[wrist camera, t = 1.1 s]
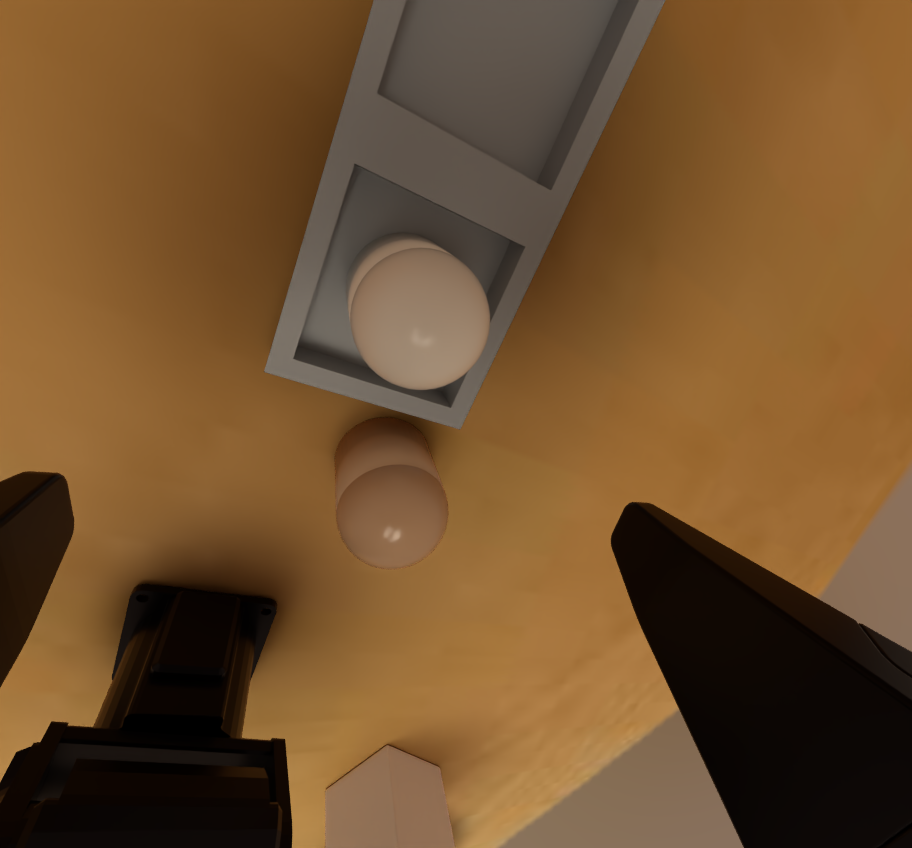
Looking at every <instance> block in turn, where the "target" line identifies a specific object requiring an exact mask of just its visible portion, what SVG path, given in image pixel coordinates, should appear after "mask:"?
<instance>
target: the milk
mask: <svg viewBox="0 0 912 848" xmlns="http://www.w3.org/2000/svg"><path fill="white" fill-rule="evenodd" d="M325 848H455V844H454V839H453V833H452V828H451V823H450V818H449V812H448V807H447V802H446V797H445V791H444V786H443V781H442V776H441V771H440V768H439V767H438V766H435V765H433V764H431V763H429V762H426V761H424V760H422V759H419V758H417V757H415V756H412V755H410V754H408V753H405V752H403V751H401V750H398V749H396V748H394V747H391V746H389V745H386V746H385V747H383V748H382V749H381V750H379V751H378V752H377V753H375V754H374V755H372V756H371V757H370V758H368V759H367V760H366V761H364V762H363V763H362V764H360V765H359V766H357V767H356V768H355V769H353V770H352V771H351V772H349V773H348V774H347V775H345V776H344V777H342V778H341V779H340V780H338V781H337V782H336V783H334V784H333V785H332V786H330V787H329V788H327V789H326V792H325Z"/></svg>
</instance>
